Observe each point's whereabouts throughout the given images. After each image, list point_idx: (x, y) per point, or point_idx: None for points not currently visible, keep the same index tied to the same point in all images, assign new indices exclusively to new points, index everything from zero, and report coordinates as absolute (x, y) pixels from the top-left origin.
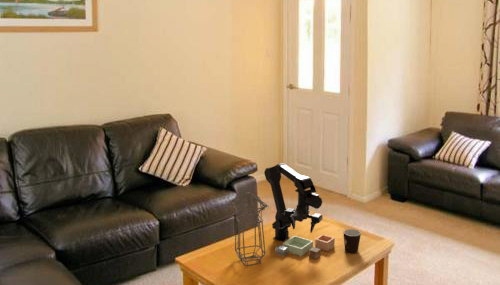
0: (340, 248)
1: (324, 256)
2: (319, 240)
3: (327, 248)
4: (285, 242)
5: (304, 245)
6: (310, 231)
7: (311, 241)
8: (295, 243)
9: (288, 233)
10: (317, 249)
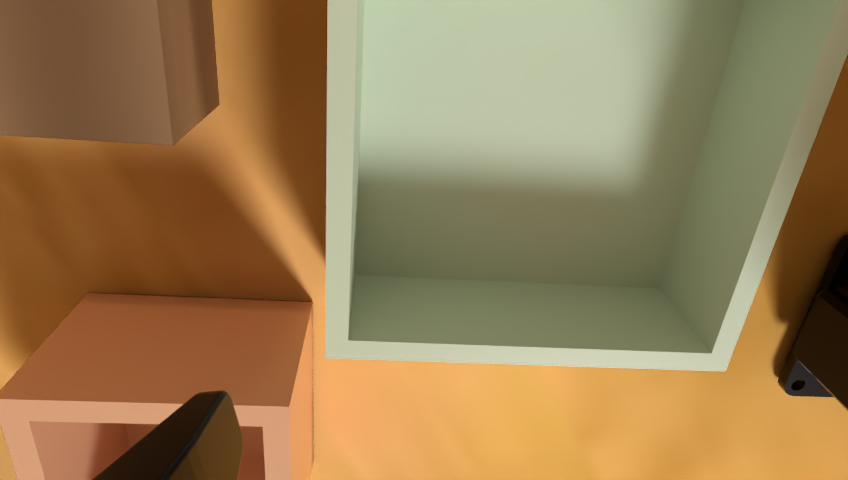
0: None
1: None
2: None
3: (61, 325)
4: (832, 11)
5: (481, 278)
6: (196, 427)
7: (342, 331)
8: (637, 266)
9: (845, 401)
10: (14, 80)
